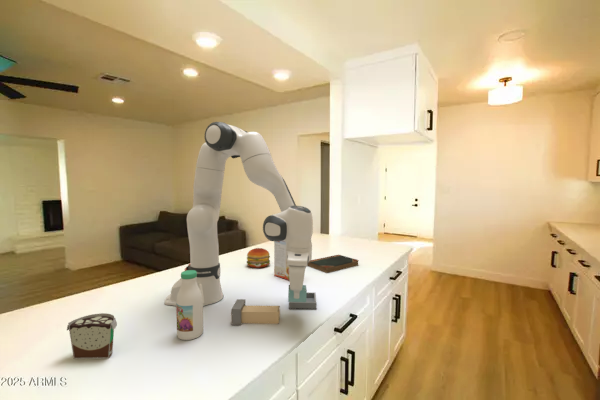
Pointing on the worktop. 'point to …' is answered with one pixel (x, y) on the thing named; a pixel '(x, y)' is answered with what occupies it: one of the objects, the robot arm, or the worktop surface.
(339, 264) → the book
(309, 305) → the tray
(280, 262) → the cracker box
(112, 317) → the food container
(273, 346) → the worktop surface
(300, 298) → the stub
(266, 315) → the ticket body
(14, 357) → the worktop surface
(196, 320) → the milk bottle
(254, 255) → the burger
